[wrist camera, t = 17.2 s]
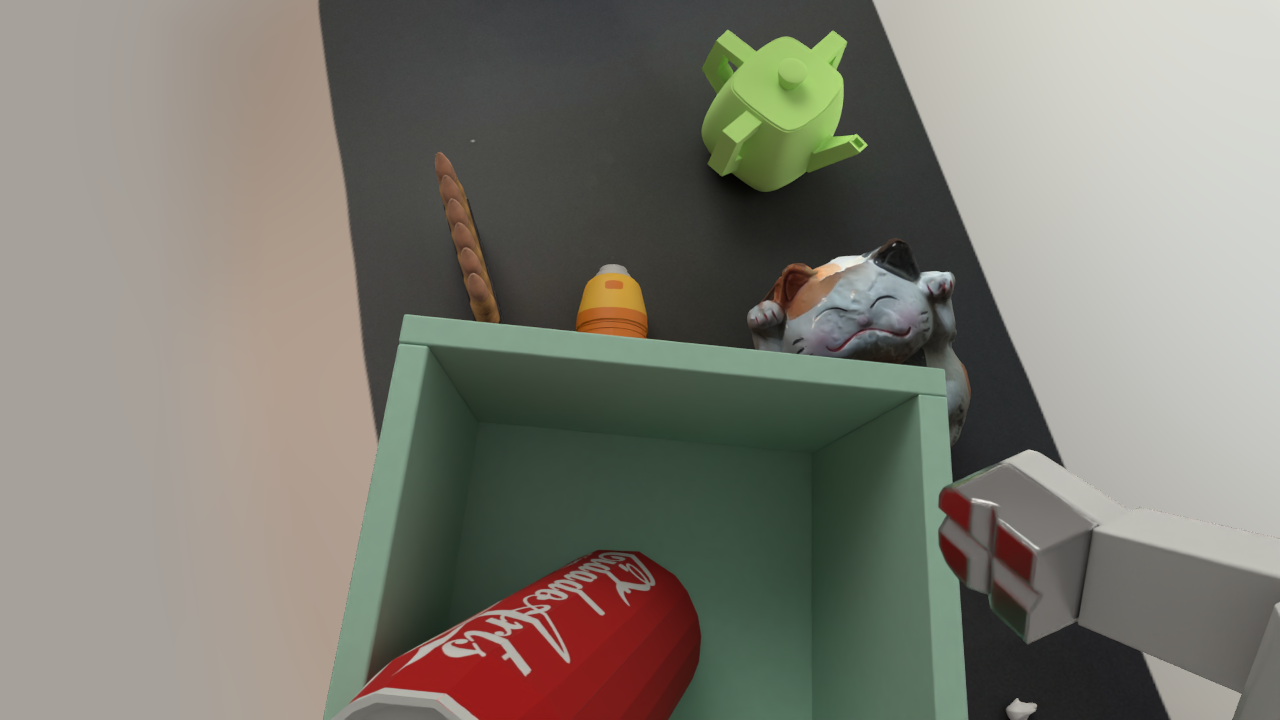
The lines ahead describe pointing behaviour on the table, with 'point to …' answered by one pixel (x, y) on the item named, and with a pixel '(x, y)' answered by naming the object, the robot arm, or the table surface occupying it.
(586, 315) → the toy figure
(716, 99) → the teapot
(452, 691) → the soda can
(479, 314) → the bullet clip
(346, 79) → the table surface
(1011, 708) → the game pieces
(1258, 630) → the robot arm
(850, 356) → the lucky cat figurine
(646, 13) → the table surface
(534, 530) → the planter box
